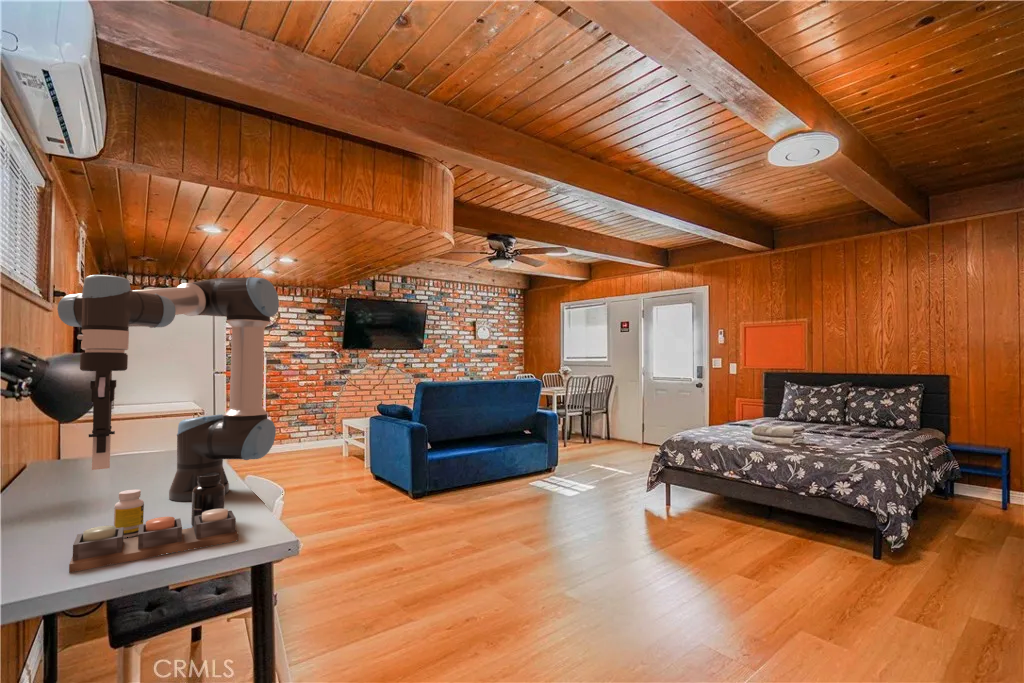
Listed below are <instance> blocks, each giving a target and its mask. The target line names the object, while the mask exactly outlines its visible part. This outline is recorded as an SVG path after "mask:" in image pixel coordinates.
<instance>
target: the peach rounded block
mask: <svg viewBox="0 0 1024 683" xmlns="http://www.w3.org/2000/svg"><path fill="white" fill-rule="evenodd" d="M228 511H229V510H228V509H227V508H224V509H212V510H208V511H205V512H203V513H202V523H204V522H210V521H216V520H223V519H228Z"/></svg>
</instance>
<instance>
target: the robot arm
mask: <svg viewBox="0 0 1024 683" xmlns="http://www.w3.org/2000/svg"><path fill="white" fill-rule="evenodd" d="M279 305H280V300H279V294H278V292H277V289H276V288H275V286H274V285H273V283H272V282H271V281H270V280H268V279H267V278H263V277H252V276H249V277H218V278H211V279H204V280H199V281H194V282H184V283H181V284H179V285H178V286H177V287H176V286H174V287H162V288H151V289H135V290H132V287H131V282H130V280H129V279H128V278H125V277H122V276H116V275H108V274H106V275H105V274H92V275H91V274H90V275H88V276H86V277H85V278H84V280H83V285H82V293H80V292H79V293H72V294H68V295H65V296H63V297H62V298H61V299H60V300H59V302H58V303H57V313H58V314H57V315H58V318H59V319H60V320H61V322H62V323H64V324H65V325H66V326H69V327H73V328H75V327H77V328H81V333H82V334H77V336H76V338H77V340H80V342H81V344H80V350H81V349H82V350H83V351H84V352H81V354H80V356H79V358H80V360H79V369H80V371H82V372H95V377H94V379H93V380H90V385H89V386H90V387H89V388H90V390H91V402H92V404H93V405H92V411H93V412H92V430H91V433H88V438H92V452H91V453H92V455H91V456H92V458H91V471H95V470H103V469H105V470H106V469H110V466H111V440H112V439H111V438H112V435H115V434H116V432H115V430H112V412H113V411H112V409H113V401H114V400H115V393H116V392H115V389H116V388H117V379H113V372H121V371H122V372H123V371H124V372H125V371H126V370H128V364H129V361H128V358H129V355H128V353H126V352H125V351H128V350H129V337H130V335H129V334H130V331H129V328H130V327H131V328H132V327H147V328H150V329H152V328H165V327H168V326H169V325H170V324H172V322H173V321H174V320H175V317H176V316H178V315H185V316H188V317H195V316H210V317H225V318H226V323H227V324H228V325H229V326H230V327H231V348H230V349H231V351H230V352H231V354H230V356H231V357H230V382H229V383H230V384H229V408H228V409H227V410H226V412H224V413H223V414H214V415H207V416H206V415H205V416H198V417H192V418H187V419H185V418H184V419H183V420H180V421H179V423H178V426H177V434H176V438H177V440H176V441H177V442H176V445H177V446H176V471H175V474H174V477H173V479H172V482H171V485H170V488H169V490H168V499H169V500H171V501H175V502H190V501H191V502H192V492H193V489H194V488H195V487H196V486H198V483H197V481H198V475H200V474H203V473H211V472H217V473H220V474H221V481H220V483H221V484H222V485H224V487H225V495H226V494H228V492H229V491H230V483H229V481H228V477H227V475H226V472H225V469H224V465H223V464H224V463H223V461H224V460H243V461H250V460H259V459H262V458H264V457H265V456H266V455H268V454H269V452H270V450H271V449H272V448H273V446H274V443H275V440H276V434H277V433H276V432H277V431H276V430H277V429H276V426H275V423H274V420H271V419H268V411H266V410H265V409H264V408H263V389H264V388H263V387H264V385H263V384H264V352H265V349H264V348H265V328H266V327H268V325H270V323H271V317H273V316H275V315H277V313H278V311H279V308H280V306H279Z"/></svg>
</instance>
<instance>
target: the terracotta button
mask: <svg viewBox="0 0 1024 683" xmlns="http://www.w3.org/2000/svg"><path fill="white" fill-rule="evenodd" d="M175 519H176V517H174V516H160V517H156V518H152V519H148V520H147V521H146V522H145V524H146V532H149V531H155V530H161V529H167V528H174V526H175Z"/></svg>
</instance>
